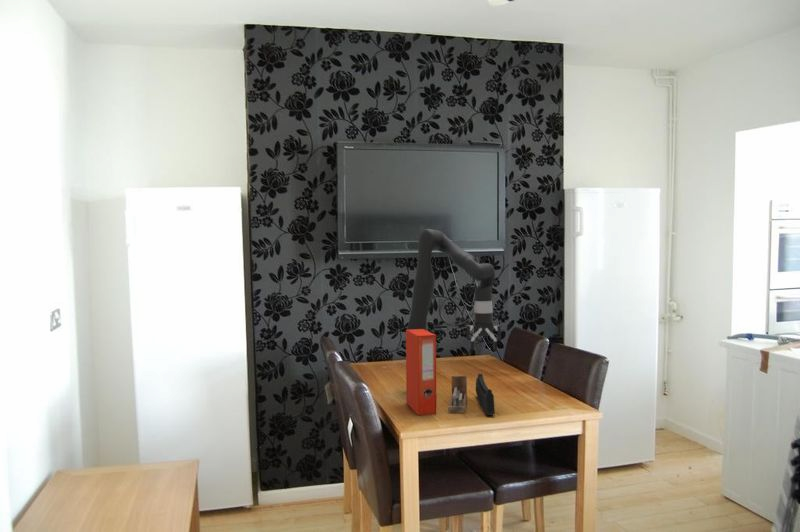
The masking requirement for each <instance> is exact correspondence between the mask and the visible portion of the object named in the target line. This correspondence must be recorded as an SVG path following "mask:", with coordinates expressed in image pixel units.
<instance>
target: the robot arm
mask: <svg viewBox="0 0 800 532" xmlns="http://www.w3.org/2000/svg"><path fill="white" fill-rule="evenodd" d="M433 251H438V252H441V253H444V255H447V256H448V257H449V259H450V260H451V261H452V263H454V264H455V265H456V266H458V267H460V268H461V269H462V270H464V271H465V272H466V274H467V275H468V276H469V277H470V278H471V279H473V280H475V281H478V282H480V283H479V285H478V286H476V287H475V288H474V305H473V306H474V308H473V313H474V315H473V316H474V324H473V325H470V324H467V325H466V340H468V341H470V349H472V351H475V346H476V345H475V340H476V338H477V337H478V336H479V337H482V336H485V337H488V336H490V338H491V339H492V340H493V343H492V345H493V348H492V349H493V351H496V350H497V348H498V341H501V340H502V331H501V325H500V324H498V325H494V322H493V319H494V318H493V315H494V314H493V311H494V309H493V308H494V307H493V296H492V295H493V293H492V292H493V291H492V290H493V287H494V283H495V282H494V281H495V278H496V270H495V268H494V266H493V264H492V263H487V262H486V263H485V262H483V263H478V259H477V257H475V256H474V255H473V254H471V253H469V252H468V251H466V250H464V249H463V248H461V247H459V246H458V245H457V244H456V243H455V242H453V241H452V240H451V239H450V238H449V237H448V236H447V235H446V234H445V233H444V232H443V231H440V230H438V229H437V230H436V229H431V228H425V229H423V230H422V231H421V232H420V235H419V239H418V251H417V262H416V263H417V264H416V271H415V276H414V282H413V290H412V297H411V312H410V316H409V319H408V324H407V327H406V330H410V329H424V330H426V331H428V332H429V327H428V325H427V320H428V314H429V313H428V312H429V309H430V306H431V303H432V300H433V296H434V293H435V292H434V290H435V283H436V278H435V277H436V276H435V273H434V269H433V265H432V254H433ZM494 329H495V331H496V332H497V337H496V336H495V335H494V333H493V331H494ZM472 330H474V331H475V332H474V334H473V335H472V336H471V335H470V333H471V331H472Z"/></svg>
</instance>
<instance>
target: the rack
mask: <svg viewBox="0 0 800 532" xmlns="http://www.w3.org/2000/svg"><path fill="white" fill-rule="evenodd" d="M467 378H468V376H467V375H451V394H450V400H449V405H448V413H449V414H466V410H467V409H466V408H467V400H468V399H467V398H468V389H467V387H468V383H467V380H468V379H467ZM455 388H457V390H460V393H462V398H463V404H462V407H461V406H453V393H454V389H455Z"/></svg>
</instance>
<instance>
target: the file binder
mask: <svg viewBox="0 0 800 532" xmlns="http://www.w3.org/2000/svg"><path fill="white" fill-rule="evenodd" d="M405 359H406V360H405V367H406V368H405V369H406V370H405V371H406V372H405V373H406V374H405V375H406V376H405V380H406V381H405V383H406V385H405V389H406V391H405V392H406V393H405V394H406V396H405V397H406V405H408V407H410V408H411V410H413V412H414V413H416V414H417V415H418V416H427V415H428V414H430V415H436V414H437V335H436V334H435V333H432V332H430V331H429V330H428V331H426V330H424V329H410V330H407V329H405Z"/></svg>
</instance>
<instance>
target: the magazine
mask: <svg viewBox="0 0 800 532" xmlns="http://www.w3.org/2000/svg"><path fill="white" fill-rule="evenodd" d="M475 393H476V397H477V400H478V403H479V405H480V407H481V410H483V411H484V413H486V415H490V416H493V415H495V413H496V410H495V409H496V408H495V395H494V394H493V390H492V389H490V388H489V387H488V386H487V384H486V382H485V380H484V376H483V373H478V374H477V378H476V380H475Z"/></svg>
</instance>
